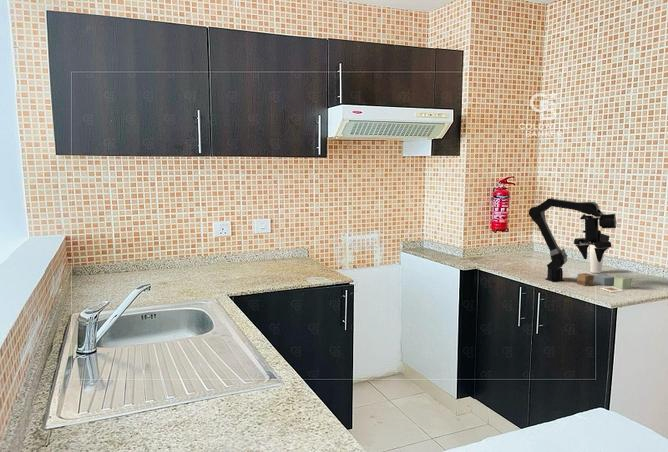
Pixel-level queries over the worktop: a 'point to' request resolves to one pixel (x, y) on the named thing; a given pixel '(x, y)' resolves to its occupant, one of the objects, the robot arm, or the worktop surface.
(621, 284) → the sage block
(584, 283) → the walnut block
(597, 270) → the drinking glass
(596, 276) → the slate base block
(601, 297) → the worktop surface
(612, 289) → the card
